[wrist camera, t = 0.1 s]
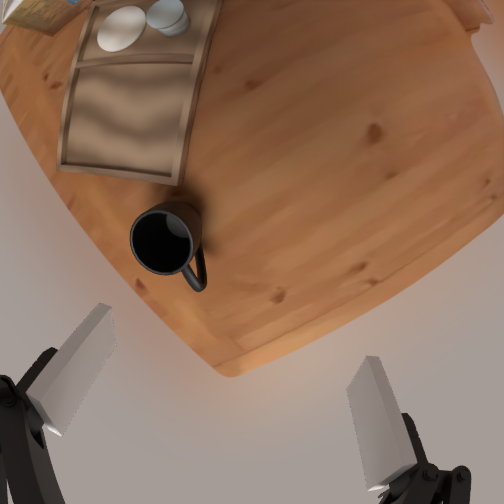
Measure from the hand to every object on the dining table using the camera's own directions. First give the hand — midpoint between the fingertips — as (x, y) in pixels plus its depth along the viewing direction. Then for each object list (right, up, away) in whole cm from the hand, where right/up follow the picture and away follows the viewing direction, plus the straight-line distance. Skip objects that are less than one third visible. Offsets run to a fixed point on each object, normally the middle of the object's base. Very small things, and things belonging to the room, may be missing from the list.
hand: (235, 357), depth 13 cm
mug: (-8, +8, +28) cm, 30 cm away
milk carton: (-33, +51, +12) cm, 62 cm away
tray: (-17, +31, +19) cm, 40 cm away
